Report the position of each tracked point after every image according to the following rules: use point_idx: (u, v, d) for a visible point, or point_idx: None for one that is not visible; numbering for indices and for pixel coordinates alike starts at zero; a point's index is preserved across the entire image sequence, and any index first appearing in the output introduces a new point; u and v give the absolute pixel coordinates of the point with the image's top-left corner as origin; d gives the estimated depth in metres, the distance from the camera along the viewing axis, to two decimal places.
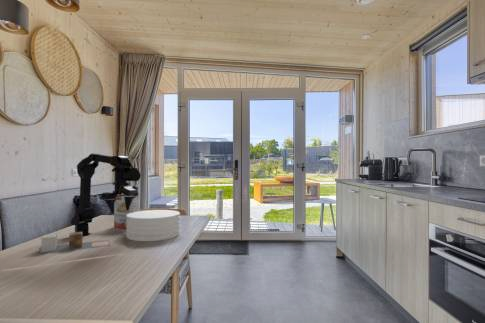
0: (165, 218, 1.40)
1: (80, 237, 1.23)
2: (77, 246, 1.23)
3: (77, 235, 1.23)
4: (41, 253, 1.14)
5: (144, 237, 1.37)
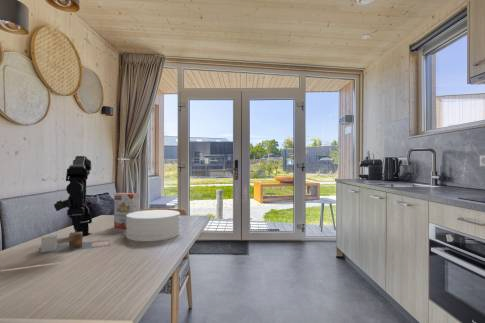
0: (165, 218, 1.40)
1: (80, 237, 1.23)
2: (77, 246, 1.23)
3: (77, 235, 1.23)
4: (41, 253, 1.14)
5: (144, 237, 1.37)
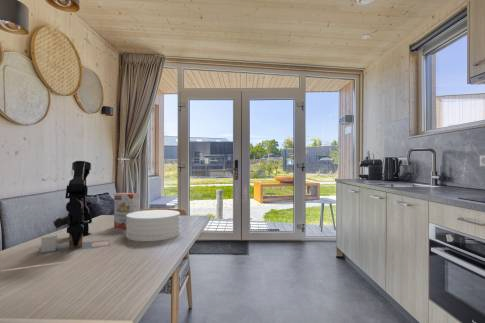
0: (165, 218, 1.40)
1: None
2: (77, 246, 1.23)
3: None
4: (41, 253, 1.14)
5: (144, 237, 1.37)
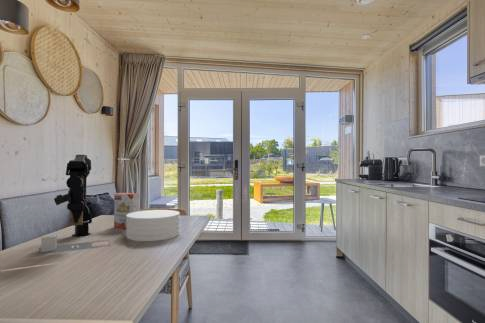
0: (165, 218, 1.40)
1: None
2: (77, 223, 1.23)
3: None
4: (41, 253, 1.14)
5: (144, 237, 1.37)
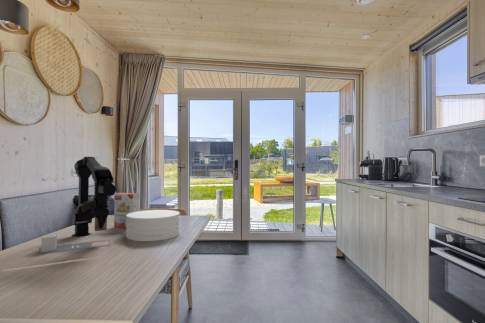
0: (165, 218, 1.40)
1: None
2: (102, 229, 1.28)
3: None
4: (41, 253, 1.14)
5: (144, 237, 1.37)
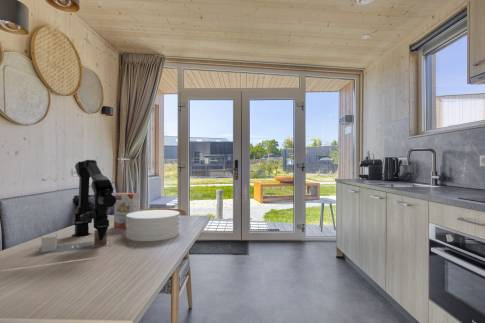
0: (165, 218, 1.40)
1: (105, 234, 1.28)
2: (102, 243, 1.27)
3: None
4: (41, 253, 1.14)
5: (144, 237, 1.37)
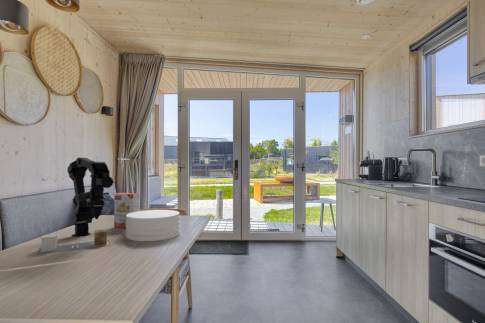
0: (165, 218, 1.40)
1: (105, 234, 1.28)
2: (102, 243, 1.27)
3: (102, 232, 1.28)
4: (41, 253, 1.14)
5: (144, 237, 1.37)
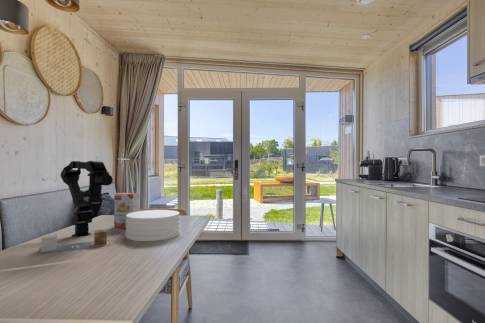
0: (165, 218, 1.40)
1: (105, 234, 1.28)
2: (102, 243, 1.27)
3: (102, 232, 1.28)
4: (41, 253, 1.14)
5: (144, 237, 1.37)
